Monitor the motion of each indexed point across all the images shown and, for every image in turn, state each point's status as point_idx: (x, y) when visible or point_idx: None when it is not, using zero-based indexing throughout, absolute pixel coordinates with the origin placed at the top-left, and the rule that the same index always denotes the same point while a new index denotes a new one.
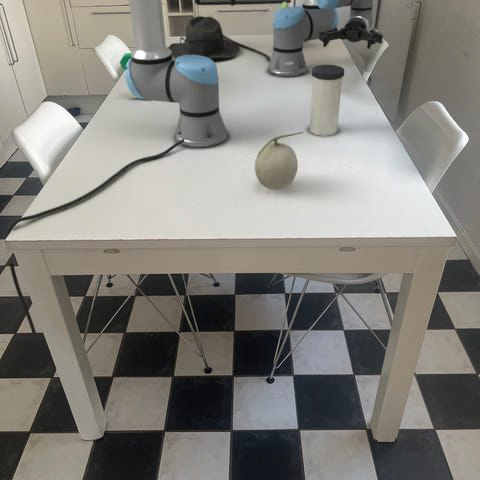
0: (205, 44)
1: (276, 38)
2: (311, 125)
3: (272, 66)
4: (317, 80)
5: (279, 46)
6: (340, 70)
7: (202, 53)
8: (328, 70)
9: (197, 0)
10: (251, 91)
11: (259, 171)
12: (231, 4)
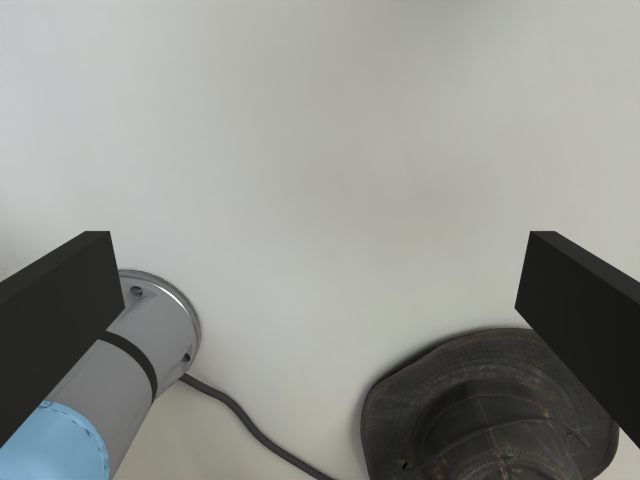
0: (471, 416)
1: (96, 374)
2: None
3: (158, 298)
4: None
5: (93, 345)
6: None
7: (472, 387)
8: None
9: (543, 263)
10: (157, 84)
11: None
12: (98, 236)
